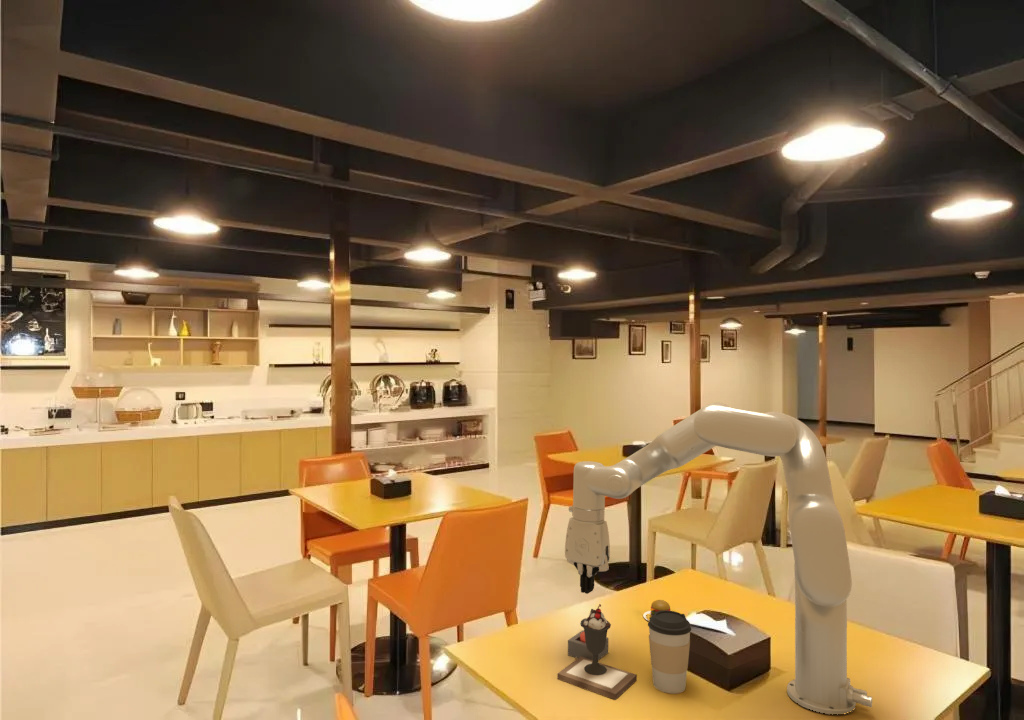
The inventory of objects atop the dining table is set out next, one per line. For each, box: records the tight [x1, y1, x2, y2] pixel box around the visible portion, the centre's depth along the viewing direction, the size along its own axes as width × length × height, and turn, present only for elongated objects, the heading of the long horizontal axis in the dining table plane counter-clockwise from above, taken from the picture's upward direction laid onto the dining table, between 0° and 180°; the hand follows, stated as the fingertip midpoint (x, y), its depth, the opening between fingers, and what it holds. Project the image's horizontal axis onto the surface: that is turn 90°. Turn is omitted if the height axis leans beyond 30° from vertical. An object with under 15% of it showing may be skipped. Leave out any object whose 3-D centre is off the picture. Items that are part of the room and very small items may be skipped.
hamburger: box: [642, 599, 671, 622], centre depth 166 cm, size 12×12×6 cm
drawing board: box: [556, 656, 638, 701], centre depth 132 cm, size 14×10×1 cm
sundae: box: [580, 603, 612, 675], centre depth 134 cm, size 7×7×15 cm
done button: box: [580, 632, 586, 643], centre depth 145 cm, size 4×4×2 cm
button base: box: [567, 629, 609, 661], centre depth 145 cm, size 7×7×4 cm
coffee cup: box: [647, 610, 692, 695], centre depth 131 cm, size 9×9×15 cm
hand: (587, 591), depth 145 cm, fingers closed
